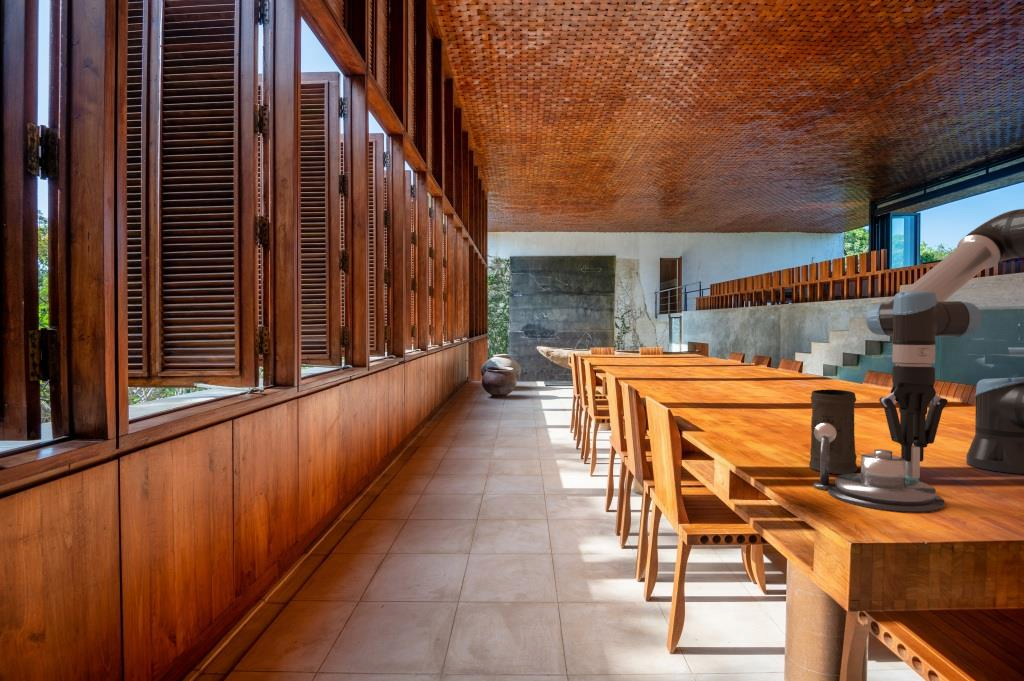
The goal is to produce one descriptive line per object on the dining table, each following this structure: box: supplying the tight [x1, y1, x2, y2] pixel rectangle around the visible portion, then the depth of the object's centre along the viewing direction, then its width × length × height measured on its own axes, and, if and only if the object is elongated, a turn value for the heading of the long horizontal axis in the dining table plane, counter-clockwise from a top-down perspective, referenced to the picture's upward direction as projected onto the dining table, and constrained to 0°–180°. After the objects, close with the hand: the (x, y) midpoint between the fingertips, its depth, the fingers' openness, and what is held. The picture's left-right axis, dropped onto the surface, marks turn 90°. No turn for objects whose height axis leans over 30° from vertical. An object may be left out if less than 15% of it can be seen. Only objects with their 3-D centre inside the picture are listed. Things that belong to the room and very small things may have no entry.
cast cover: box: [860, 448, 906, 489], centre depth 127 cm, size 8×8×7 cm
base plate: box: [827, 482, 946, 513], centre depth 127 cm, size 21×21×1 cm
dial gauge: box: [813, 423, 837, 492], centre depth 134 cm, size 4×4×15 cm
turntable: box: [834, 472, 937, 506], centre depth 128 cm, size 22×18×6 cm
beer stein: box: [808, 388, 858, 475], centre depth 153 cm, size 15×11×20 cm
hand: (912, 476), depth 127 cm, fingers closed
